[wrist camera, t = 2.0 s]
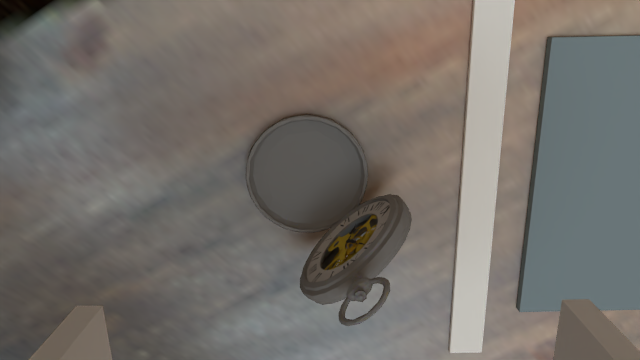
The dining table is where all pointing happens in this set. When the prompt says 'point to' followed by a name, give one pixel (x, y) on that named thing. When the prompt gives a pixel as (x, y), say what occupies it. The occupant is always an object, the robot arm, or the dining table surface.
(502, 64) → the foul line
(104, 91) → the dining table surface
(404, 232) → the pocket watch
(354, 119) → the dining table surface
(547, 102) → the mat
